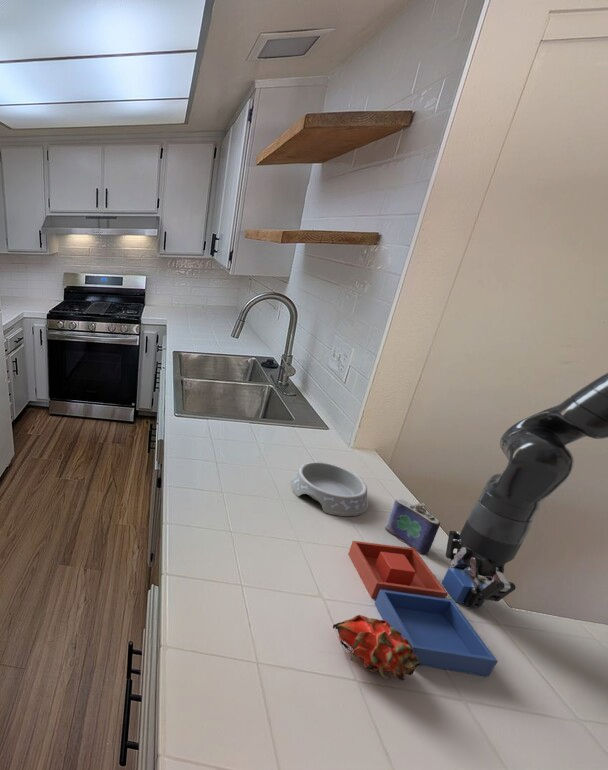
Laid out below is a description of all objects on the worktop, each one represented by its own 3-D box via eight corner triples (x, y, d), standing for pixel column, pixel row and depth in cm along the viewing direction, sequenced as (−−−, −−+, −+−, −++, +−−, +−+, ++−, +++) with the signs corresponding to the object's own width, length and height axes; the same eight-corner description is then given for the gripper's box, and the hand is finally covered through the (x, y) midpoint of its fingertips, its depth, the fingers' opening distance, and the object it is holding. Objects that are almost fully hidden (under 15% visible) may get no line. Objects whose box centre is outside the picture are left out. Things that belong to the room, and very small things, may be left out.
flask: (382, 528, 94) (395, 493, 90) (390, 525, 95) (404, 490, 91) (423, 556, 86) (440, 519, 82) (431, 553, 87) (448, 515, 83)
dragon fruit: (415, 695, 62) (330, 655, 70) (420, 639, 65) (338, 606, 73) (421, 693, 56) (327, 649, 64) (426, 631, 60) (336, 597, 67)
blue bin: (444, 614, 73) (452, 599, 72) (488, 676, 63) (498, 661, 62) (374, 603, 75) (379, 589, 74) (405, 662, 65) (412, 647, 64)
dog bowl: (312, 467, 117) (316, 452, 115) (379, 501, 103) (385, 484, 101) (278, 486, 109) (282, 471, 107) (346, 526, 95) (351, 508, 92)
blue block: (466, 586, 79) (474, 570, 77) (481, 606, 75) (491, 589, 73) (441, 583, 80) (448, 567, 78) (455, 602, 75) (463, 586, 74)
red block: (397, 570, 82) (404, 554, 80) (409, 588, 78) (416, 572, 76) (374, 567, 83) (380, 551, 81) (384, 584, 79) (391, 568, 77)
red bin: (408, 561, 85) (414, 548, 83) (440, 608, 74) (447, 593, 73) (348, 554, 87) (352, 540, 85) (371, 597, 76) (376, 583, 75)
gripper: (554, 561, 63) (511, 631, 70) (489, 504, 76) (458, 567, 83) (501, 555, 65) (464, 623, 71) (446, 499, 78) (419, 562, 84)
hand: (461, 593), depth 77 cm, fingers closed on blue block, 4 cm apart
